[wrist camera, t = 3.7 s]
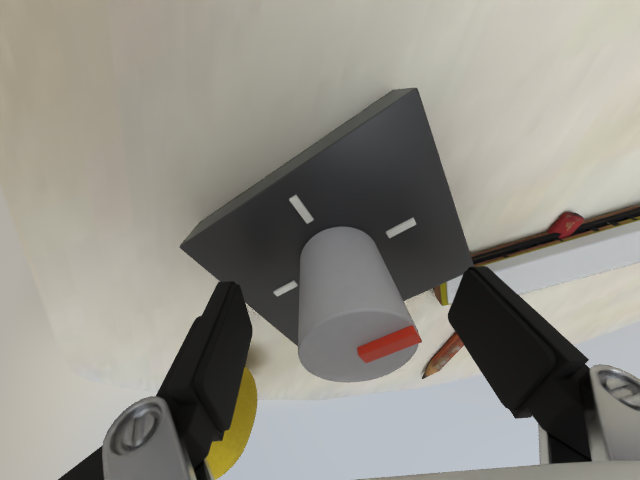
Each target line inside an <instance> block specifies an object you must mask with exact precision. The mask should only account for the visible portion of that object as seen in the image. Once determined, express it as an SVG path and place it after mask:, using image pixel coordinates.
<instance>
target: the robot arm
mask: <svg viewBox="0 0 640 480" xmlns="http://www.w3.org/2000/svg"><path fill="white" fill-rule="evenodd" d="M448 320H449V322H450V324H451V325H452V327H453V328H454V330H455V332H456V333H457V335H458V336H459V338H460V339H461V341H462V342H463V344H464V345H465V347H466V349H467V350H468V352H469V353H470V355H471V356H472V358H473V359H474V361H475V363H476V364H477V366H478V367H479V369H480V370H481V372H482V373H483V375H484V376H485V378H486V379H487V381H488V383H489V384H490V386H491V387H492V389H493V390H494V392H495V393H496V395H497V396H498V398H499V400H500V401H501V403H502V404H503V405H504V406H505V407H506V408H508V409H509V410H510V411H511V412H512V414H513V416H514V417H515V418H528V417H531V416H532V415H533V417H534V418H535V419H536V421H537V422H538V428H539V453H540V454H539V456H540V465H531V466H519V467H506V468H492V469H480V470H467V471H455V472H443V473H430V474H418V475H406V476H394V477H382V478H370V479H358V480H640V379H638V378H636V377H635V376H633V375H632V374H630V373H627V372H625V371H623V370H621V369H618V368H615V367H612V366H609V365H601V364H599V365H594V366H593V367H592V368H591V369H590V368H589V367H588V366H587V365H585V363H586V362H587V361H588V358H586V357H585V356H584V355H583V354H582V353H581V352H580V351H579V350H578V349H577V348H575V347H574V346H573V345H572V344H571V343H570V342H569V341H568V340H567V339H566V338H565V337H564V336H562V335H561V334H560V333H559V332H558V331H557V330H556V329H555V328H554V327H553V326H552V325H550V324H549V323H548V322H547V321H546V320H545V319H544V318H543V317H542V316H541V315H540V314H538V313H537V312H536V311H535V310H534V309H533V308H532V307H531V306H530V305H529V304H528V303H526V302H525V301H524V300H523V299H522V298H521V297H520V296H519V295H518V294H517V293H516V292H514V291H513V290H512V289H511V288H510V287H509V286H508V285H507V284H506V283H505V282H504V281H502V280H501V279H500V278H499V277H498V276H497V275H496V274H495V273H494V272H493V271H492V270H490V269H489V268H488V267H486V266H477V267H469V268H468V269H467V271H465V272H464V274H463V276H462V279H461V281H460V284H459V287H458V289H457V292H456V295H455V297H454V300H453V302H452V305H451V308H450V310H449V313H448ZM251 338H252V325H251V321H250V318H249V314H248V311H247V308H246V304H245V301H244V297H243V294H242V291H241V287H240V285H239V284H236V283H235V282H234V281H226V282H219V283H218V284H217V286H216V288H215V290H214V292H213V294H212V296H211V298H210V300H209V302H208V304H207V306H206V308H205V310H204V312H203V314H202V316H199V317H198V318H196V320H195V321H194V323H193V325H192V326H191V328H190V330H189V332H188V334H187V336H186V338H185V340H184V342H183V344H182V346H181V348H180V350H179V352H178V354H177V356H176V358H175V360H174V362H173V364H172V366H171V368H170V370H169V371H168V373H167V375H166V377H165V379H164V381H163V383H162V385H161V387H160V389H159V391H158V393H157V395H156V397H148V398H144V399H141V400H140V401H138V402H136V403H134V404H132V405H131V406H130V407H128V408H127V409H126V410H125V411H123V412H122V414H120V416H119V417H118V418H117V419H116V420H115V421H114V422H113V424H112V425H111V427H110V428H109V430H108V432H107V434H106V436H105V439H104V441H103V446H101V447H100V448H99V449H97V450H96V451H95V452H94V453H92V454H91V455H90V456H88V457H87V458H86V459H84V460H83V461H82V462H80V463H79V464H78V465H77V466H75V467H74V468H73V469H71V470H70V471H69V472H68V473H66V474H65V475H63V476H62V477H61V478H60V479H58V480H215V479H214V477H213V474H212V471H211V469H210V466H209V463H208V461H207V458H206V457H207V456H208V454H209V451H210V447H211V444H212V442H215V441H222V440H223V436H224V432H225V431H227V430H229V429H230V426H231V423H232V419H233V415H234V410H235V406H236V402H237V398H238V393H239V389H240V385H241V380H242V376H243V372H244V368H245V363H246V359H247V355H248V350H249V346H250V342H251Z"/></svg>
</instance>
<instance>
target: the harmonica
mask: <svg viewBox="0 0 640 480" xmlns="http://www.w3.org/2000/svg"><path fill="white" fill-rule="evenodd" d="M560 235H561V234H560V233H555V232H554V233H551V234H549V233H548V232H544V233H541V234H538V235H534V236H531V237H528V238H524V239H521V240H517V241H514V242H511V243H507V244H504V245H501V246H497V247H494V248H491V249H487V250H484V251H480V252H477V253H474V254H471V258H472V261H473V265H474V267H477V266H486V267H488V268H489V269H490V270H492V271H493V272H494V273H495V274H496V275H497V276H498V277H499V278H500V279H501V280H502V281H504V282H505V283H506V284H507V285H508V286H509V287H510V288H511V289H512V290H513V291H514V292H516V293H517V294H518V295H520V294H524V293H527V292H531V291H535V290H539V289H542V288H546V287H550V286H554V285H557V284H561V283H565V282H569V281H572V280H576V279H580V278H584V277H587V276H591V275H595V274H598V273H602V272H606V271H610V270H613V269H617V268H621V267H625V266H628V265H632V264H636V263H639V262H640V206H632V207H629V208H625V209H622V210H618V211H615V212H611V213H608V214H605V215H601V216H598V217H595V218H591V219H588V220H585V221H584V222H583V223H582V224H581V225H580V226H579V227H578V228H577V229H576V230H575V231H574V232H573V233H572V234H571V235H570V236H569V237H566V238H563V239H560V238H558V237H559V236H560ZM462 276H463V275H461V276H459V277H457V278H454V279H452V280H450V281H448V282H445V283H443V284H441V285H439V286H436V287H434V289H435V296H436V298H437V299H438V301H439V302H440V304H441V305H442V306H443V305H449V304H452V302H453V300H454V297H455V295H456V292H457V289H458V287H459V284H460V281H461V279H462Z"/></svg>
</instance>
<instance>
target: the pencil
mask: <svg viewBox="0 0 640 480" xmlns="http://www.w3.org/2000/svg"><path fill="white" fill-rule="evenodd" d="M584 221H585V219H584V218H583V217H582V216H580V215H579V214H576V213H572V212H565V213H563V214H562V215H561V217H560V218H559V219H558V220H557V221H556V222H555V223H554V224H553V225H552V226H551V228H550V229H549V230H548V231H547V232H548V233H549V234H551V233H554V232H555V233H560V234H561V235H560V236H559V237H558V238H560V239H563V238H566V237H569V236H570V235H571V234H572V233H573V232H574V231H575V230H576V229H577V228H578V227H579V226H580V225H581V224H582V223H583V222H584ZM463 346H464V344H463V342H462V341H461V339H460V338H459V336H458V335H457V333H455V334H454V335H453V336H452V337H451V338H450V339H449V340H448V341H447V343H446V344H445V345H444V346H443V347H442V348H441V349H440V350H439V351H438V353H437V354H436V355H435V356H434V357H433V358H432V359H431V361H430V363H429V365H428V367H427V369H426V371H425V373H424V375H423V377H422V379H424V378H426V377H428V376H430V375H432V374H434V373H436V372H438V371H440V369H441V368H442V367H443V366H444V365H445V364H446V363H447V362H448V361H449V360H450V359H451V358H452V357H453V356H454V355H455V354H456V353H457V352H458V351H459V350H460V349H461V348H462V347H463Z"/></svg>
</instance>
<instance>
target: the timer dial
mask: <svg viewBox="0 0 640 480" xmlns="http://www.w3.org/2000/svg"><path fill="white" fill-rule="evenodd" d="M421 342H422V340H421V338H420V336H419V334H418V330H417V328H416V326H415V324H414V322H413V320H412V318H411V316H410V314H409V312H408V310H407V308H406V306H405V304H404V302H403V299H402V297H401V295H400V293H399V291H398V289H397V287H396V285H395V283H394V281H393V279H392V277H391V275H390V273H389V271H388V269H387V267H386V265H385V263H384V261H383V259H382V257H381V254H380V252H379V250H378V248H377V246H376V244H375V242H374V241H373V239H372V238H371V237H370V236H369V235H367V234H366V233H365V232H363V231H361V230H358V229H356V228H352V227H333V228H329V229H326V230H323V231H321V232H319V233H318V234H316V235H314V236H313V237H312V238H311V239H310V240H309V241H308V242H307V243H306V245H305V246H304V248H303V250H302V253H301V257H300V287H299V329H298V355H299V359H300V361H301V363H302V365H303V366H304V367H305V368H306V369H307V370H308V371H309V372H310V373H312V374H313V375H315V376H317V377H320V378H323V379H326V380H330V381H335V382H360V381H367V380H372V379H375V378H379V377H382V376H384V375H387V374H389V373H391V372H393V371H395V370H397V369H398V368H400V367H401V366H403V365H404V364H405V363H407V362H408V361H409V360H410V359H411V357H412V356H413V355H414V353H415V352H416V350H417V347H418V344H419V343H421Z"/></svg>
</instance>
